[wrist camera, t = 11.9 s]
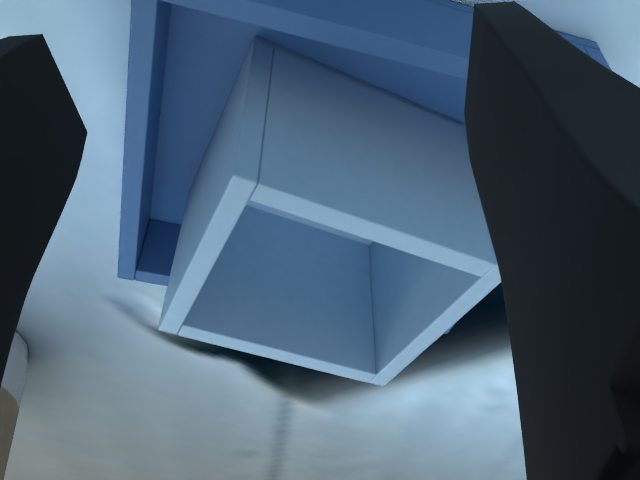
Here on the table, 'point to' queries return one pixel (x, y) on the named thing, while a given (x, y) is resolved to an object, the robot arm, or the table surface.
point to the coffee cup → (11, 396)
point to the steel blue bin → (223, 69)
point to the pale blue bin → (328, 224)
